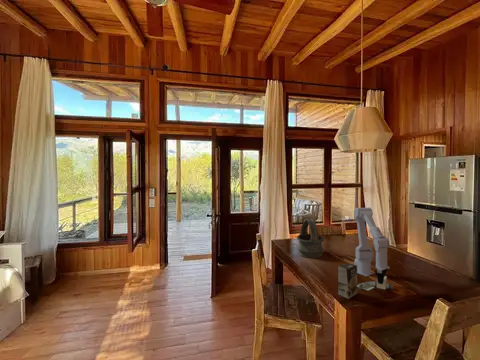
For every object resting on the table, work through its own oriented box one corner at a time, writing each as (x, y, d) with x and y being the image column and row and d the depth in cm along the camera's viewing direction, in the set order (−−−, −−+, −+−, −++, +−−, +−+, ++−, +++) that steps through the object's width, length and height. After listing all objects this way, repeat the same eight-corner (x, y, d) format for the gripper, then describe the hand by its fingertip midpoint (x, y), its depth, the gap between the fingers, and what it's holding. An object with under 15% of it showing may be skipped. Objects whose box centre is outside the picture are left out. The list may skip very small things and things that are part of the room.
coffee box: (348, 299, 129) (348, 269, 129) (337, 294, 134) (337, 265, 134) (357, 293, 134) (357, 265, 134) (346, 289, 139) (346, 262, 139)
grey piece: (355, 285, 144) (355, 280, 144) (388, 285, 143) (388, 280, 143) (359, 289, 139) (359, 284, 139) (393, 290, 138) (393, 284, 138)
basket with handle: (296, 258, 193) (296, 221, 192) (297, 249, 215) (296, 216, 215) (325, 260, 187) (325, 221, 187) (322, 250, 210) (322, 216, 209)
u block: (376, 287, 141) (376, 277, 141) (378, 284, 145) (377, 274, 145) (385, 289, 138) (385, 279, 138) (386, 286, 142) (386, 276, 142)
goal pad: (356, 286, 143) (356, 285, 143) (363, 283, 147) (363, 282, 147) (367, 291, 137) (367, 290, 137) (374, 287, 141) (374, 287, 141)
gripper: (387, 263, 133) (387, 287, 133) (391, 256, 144) (391, 278, 145) (373, 260, 138) (373, 284, 138) (377, 254, 149) (377, 275, 149)
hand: (381, 281), depth 142 cm, fingers open, 7 cm apart
